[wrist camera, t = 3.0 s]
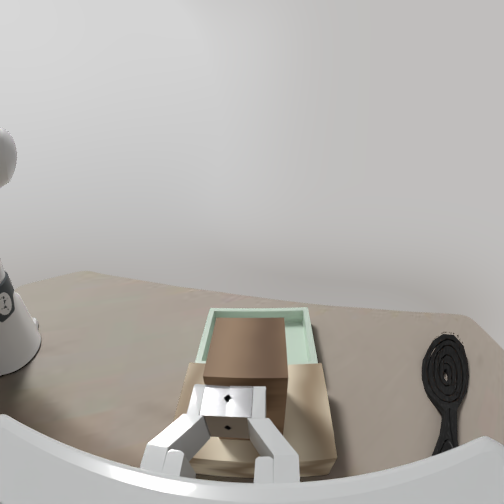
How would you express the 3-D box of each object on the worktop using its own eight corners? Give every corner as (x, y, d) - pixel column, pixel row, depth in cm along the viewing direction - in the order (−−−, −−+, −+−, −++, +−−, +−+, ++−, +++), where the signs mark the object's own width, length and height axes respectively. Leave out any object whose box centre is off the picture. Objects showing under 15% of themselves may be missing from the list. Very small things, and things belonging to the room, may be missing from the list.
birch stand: (177, 470, 23) (164, 453, 21) (196, 387, 35) (189, 362, 33) (327, 474, 22) (337, 457, 20) (316, 387, 34) (321, 363, 32)
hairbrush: (414, 476, 18) (428, 326, 37) (401, 486, 19) (422, 342, 39) (476, 478, 14) (471, 333, 34) (460, 489, 16) (463, 349, 35)
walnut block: (219, 438, 23) (202, 376, 19) (226, 386, 29) (216, 317, 25) (282, 440, 23) (288, 377, 18) (280, 387, 29) (284, 317, 25)
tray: (198, 379, 36) (194, 364, 35) (212, 322, 48) (210, 307, 47) (315, 379, 35) (318, 365, 34) (306, 321, 47) (307, 307, 46)
